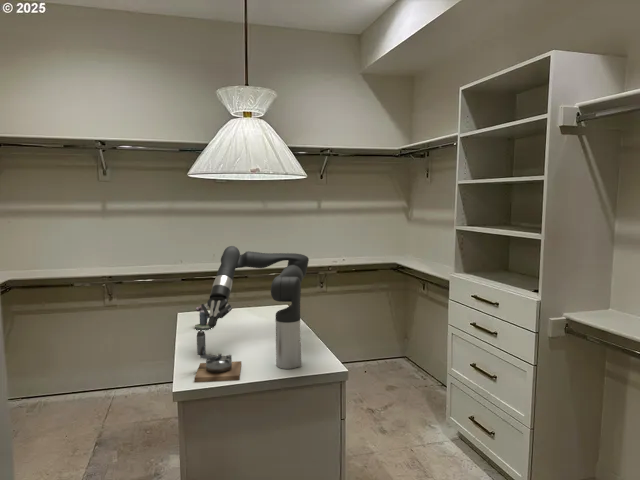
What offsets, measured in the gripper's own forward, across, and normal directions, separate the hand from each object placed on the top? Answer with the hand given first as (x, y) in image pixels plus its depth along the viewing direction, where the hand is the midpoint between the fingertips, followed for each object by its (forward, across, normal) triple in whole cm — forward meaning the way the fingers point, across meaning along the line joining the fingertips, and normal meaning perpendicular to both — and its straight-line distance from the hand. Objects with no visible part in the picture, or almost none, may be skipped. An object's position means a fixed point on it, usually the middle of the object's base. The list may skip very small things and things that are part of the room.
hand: (211, 326), depth 174 cm
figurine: (-18, +21, -38) cm, 47 cm away
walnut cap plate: (+19, -8, +1) cm, 21 cm away
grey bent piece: (+17, -6, +2) cm, 18 cm away
